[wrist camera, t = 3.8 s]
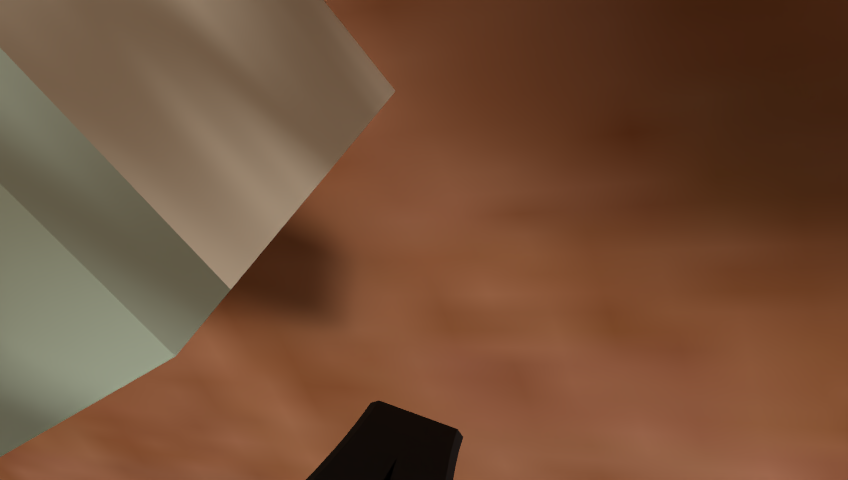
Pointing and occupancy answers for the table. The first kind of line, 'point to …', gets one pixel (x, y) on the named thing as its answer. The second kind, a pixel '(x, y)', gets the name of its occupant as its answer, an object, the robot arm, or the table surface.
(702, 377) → the table surface
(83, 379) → the tan and green sponge
